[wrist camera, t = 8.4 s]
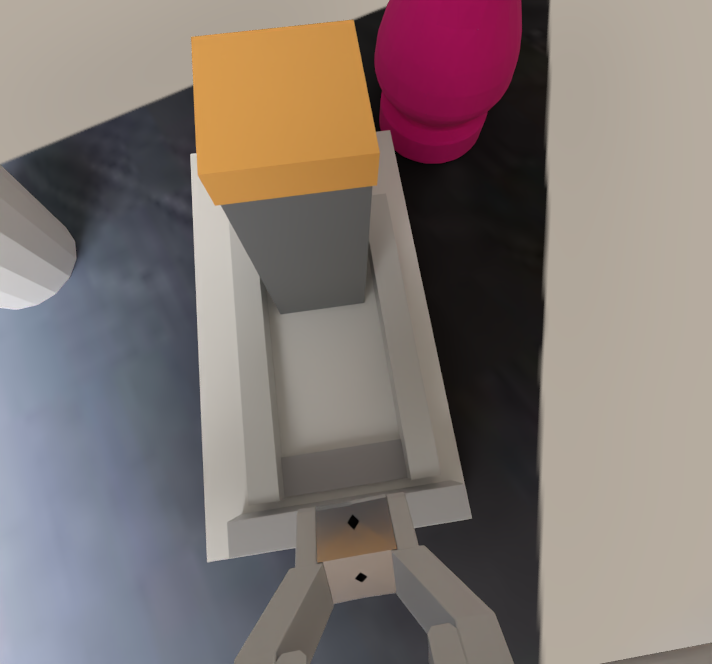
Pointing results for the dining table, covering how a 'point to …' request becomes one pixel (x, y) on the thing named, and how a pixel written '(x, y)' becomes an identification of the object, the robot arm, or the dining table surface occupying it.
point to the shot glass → (30, 248)
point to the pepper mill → (443, 72)
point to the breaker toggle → (290, 155)
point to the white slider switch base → (318, 387)
